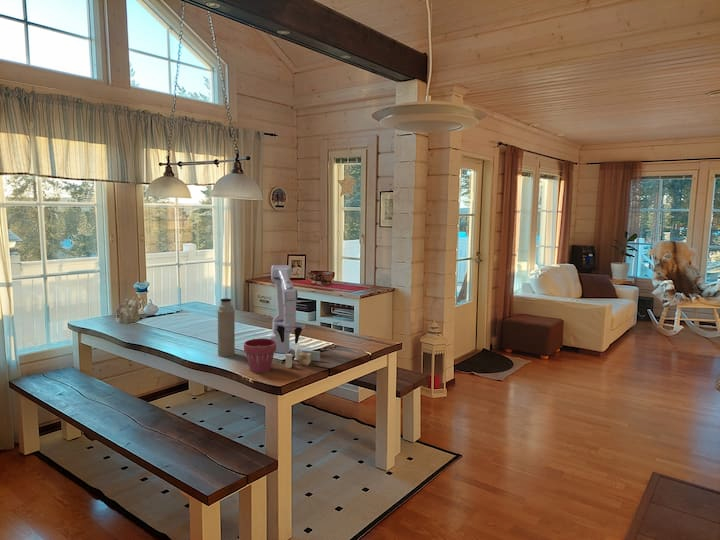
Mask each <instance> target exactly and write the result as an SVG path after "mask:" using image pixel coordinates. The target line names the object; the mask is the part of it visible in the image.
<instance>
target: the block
mask: <svg viewBox="0 0 720 540" xmlns="http://www.w3.org/2000/svg"><path fill="white" fill-rule="evenodd" d="M311 363H312V360H311V353H303V352H302V351H300V354H299V355H298V360H297V365H301V366H309V365H310V364H311Z"/></svg>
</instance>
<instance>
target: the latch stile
mask: <svg viewBox="0 0 720 540" xmlns="http://www.w3.org/2000/svg"><path fill="white" fill-rule="evenodd" d="M292 367H293V354H292V353H285V368H288V369H291V368H292Z"/></svg>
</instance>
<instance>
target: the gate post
mask: <svg viewBox="0 0 720 540" xmlns="http://www.w3.org/2000/svg"><path fill="white" fill-rule="evenodd" d="M294 351H295V355H294V358H293V360H294V361H298V355H299V354H300V353H301V348H295V349H294Z"/></svg>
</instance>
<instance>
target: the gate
mask: <svg viewBox="0 0 720 540" xmlns="http://www.w3.org/2000/svg"><path fill="white" fill-rule="evenodd" d="M301 352H303V353H311V362H312V361H313V362H314V361H316V362H320V361H321V351H320V350H319V351H318V350H317V351H316V350H307V349H302V350H301Z"/></svg>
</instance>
